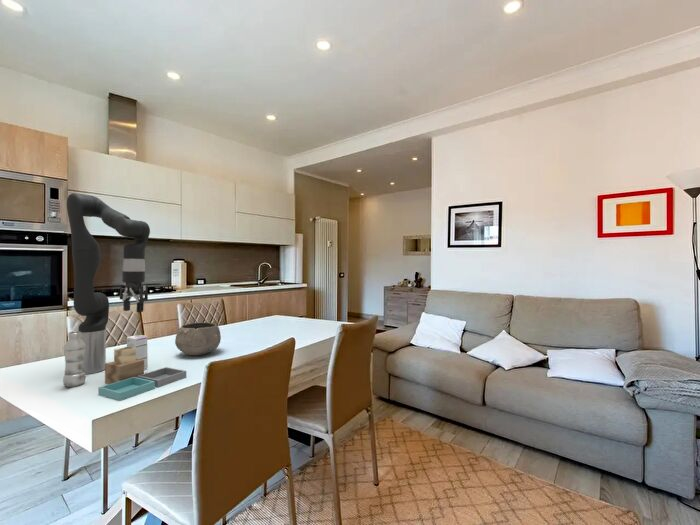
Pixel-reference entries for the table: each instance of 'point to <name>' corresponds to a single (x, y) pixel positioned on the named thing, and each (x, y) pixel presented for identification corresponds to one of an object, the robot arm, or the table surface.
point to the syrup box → (139, 347)
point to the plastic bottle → (74, 360)
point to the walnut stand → (123, 371)
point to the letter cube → (124, 355)
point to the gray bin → (164, 376)
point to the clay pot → (198, 338)
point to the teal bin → (126, 388)
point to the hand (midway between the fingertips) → (133, 311)
